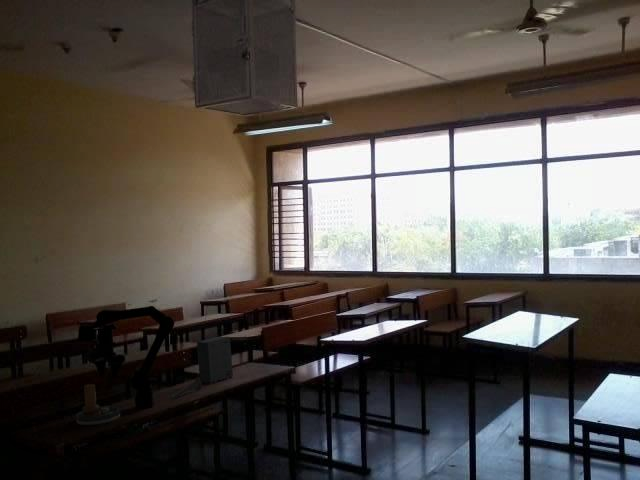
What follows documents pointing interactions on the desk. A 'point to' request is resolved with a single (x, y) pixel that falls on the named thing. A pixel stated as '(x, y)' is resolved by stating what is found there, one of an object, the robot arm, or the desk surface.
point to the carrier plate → (99, 416)
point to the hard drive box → (214, 359)
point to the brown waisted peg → (90, 400)
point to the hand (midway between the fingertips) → (107, 378)
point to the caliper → (188, 388)
